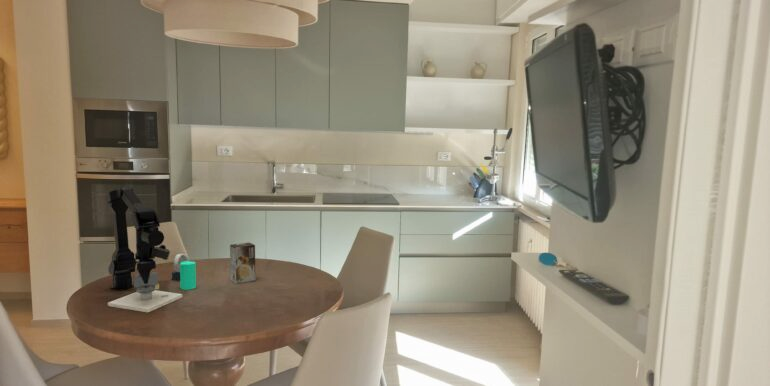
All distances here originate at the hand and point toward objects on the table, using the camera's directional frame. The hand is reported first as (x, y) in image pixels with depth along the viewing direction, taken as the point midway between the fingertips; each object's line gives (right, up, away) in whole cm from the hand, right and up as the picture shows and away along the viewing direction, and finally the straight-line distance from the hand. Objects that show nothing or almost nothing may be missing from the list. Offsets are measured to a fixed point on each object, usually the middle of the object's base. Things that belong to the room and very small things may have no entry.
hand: (145, 282), depth 189 cm
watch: (+1, -4, +31) cm, 31 cm away
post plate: (0, -7, +1) cm, 8 cm away
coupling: (0, -3, 0) cm, 3 cm away
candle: (+8, -6, +19) cm, 22 cm away
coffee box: (+28, -5, +31) cm, 42 cm away
